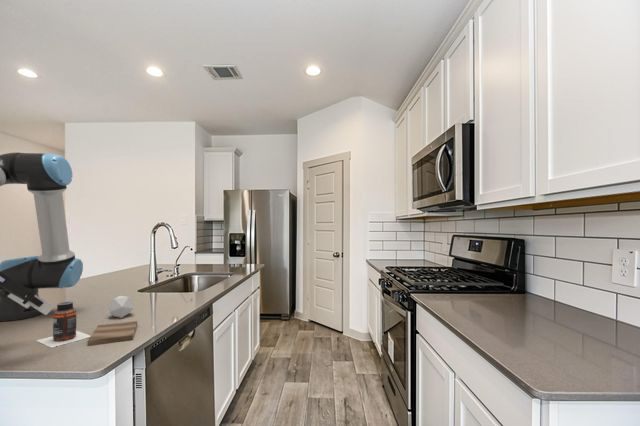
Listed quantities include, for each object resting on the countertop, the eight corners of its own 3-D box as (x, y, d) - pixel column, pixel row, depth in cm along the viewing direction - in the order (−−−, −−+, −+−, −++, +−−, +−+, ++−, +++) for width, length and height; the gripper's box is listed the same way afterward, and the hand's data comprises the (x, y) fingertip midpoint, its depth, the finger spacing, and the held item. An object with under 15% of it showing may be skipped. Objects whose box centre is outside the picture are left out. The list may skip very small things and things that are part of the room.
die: (138, 316, 131) (136, 294, 136) (125, 311, 123) (124, 288, 128) (117, 324, 130) (116, 302, 135) (103, 319, 122) (103, 296, 127)
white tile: (36, 340, 102) (36, 340, 102) (76, 330, 112) (76, 330, 112) (51, 347, 97) (51, 347, 97) (92, 336, 106) (92, 336, 106)
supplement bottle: (79, 334, 108) (80, 300, 108) (70, 340, 102) (71, 304, 102) (59, 335, 107) (60, 301, 107) (48, 342, 101) (49, 305, 101)
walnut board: (98, 329, 113) (98, 325, 113) (137, 325, 118) (137, 320, 118) (87, 345, 99) (87, 340, 99) (132, 339, 104) (132, 335, 104)
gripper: (-58, 270, 90) (12, 312, 102) (-30, 279, 77) (46, 325, 89) (-30, 250, 94) (34, 292, 107) (1, 255, 82) (69, 302, 94)
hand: (40, 307), depth 98 cm, fingers open, 13 cm apart
